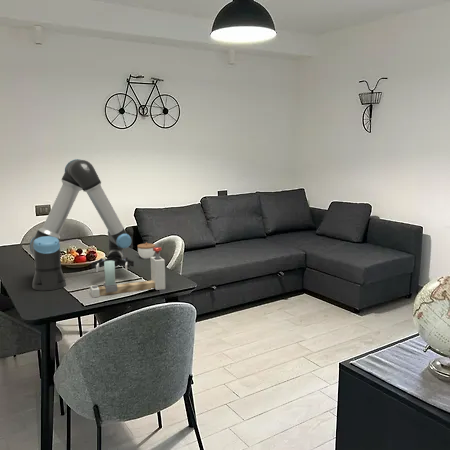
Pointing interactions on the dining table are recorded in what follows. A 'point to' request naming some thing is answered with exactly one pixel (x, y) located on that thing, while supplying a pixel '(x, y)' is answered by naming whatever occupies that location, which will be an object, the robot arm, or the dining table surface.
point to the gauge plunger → (157, 252)
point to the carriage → (110, 276)
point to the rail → (129, 287)
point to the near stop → (94, 291)
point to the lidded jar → (146, 250)
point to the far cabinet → (158, 273)
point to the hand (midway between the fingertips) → (111, 268)
